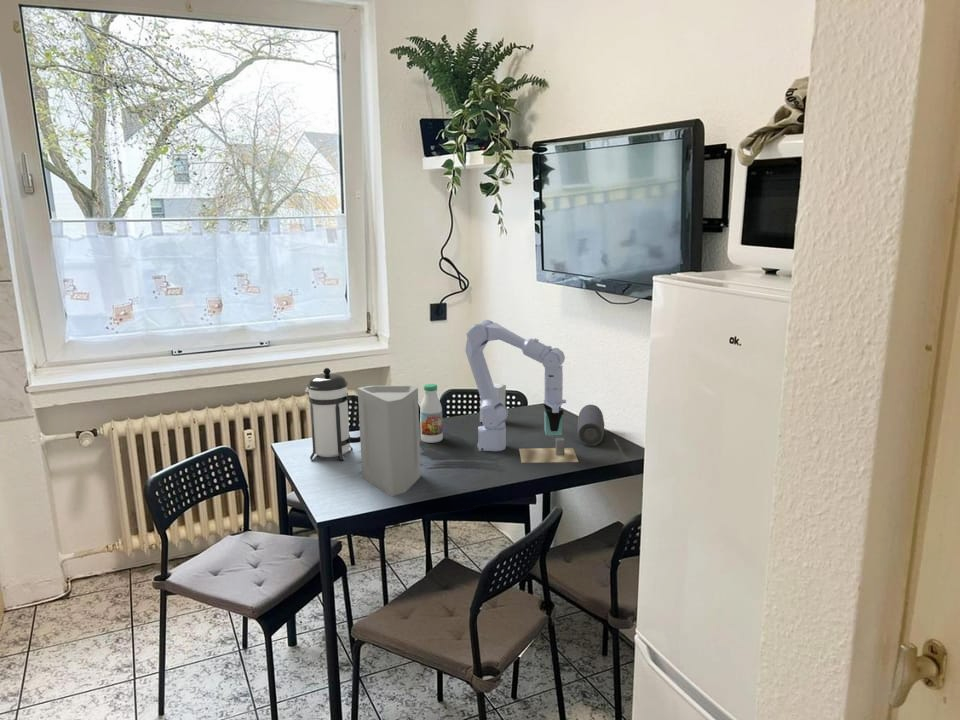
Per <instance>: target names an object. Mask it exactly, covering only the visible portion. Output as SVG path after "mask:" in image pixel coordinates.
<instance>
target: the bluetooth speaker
mask: <svg viewBox="0 0 960 720" xmlns="http://www.w3.org/2000/svg"><path fill="white" fill-rule="evenodd" d="M603 414H604V413H603V412H602V410H601V409H600V408H599V406H597V405H595V404H586V405H584V406H583V407H582V408H581V409H580V412H579V413H578V417H577V425H576V426H577V428H576V429H577V436H578V439H579V441H580V443H582V444H583V445H584V446H592V447H593V446H594V447H595V446H598V445H599V444H600V443H601V442H602V440H603V438H604V434H605V419H604V415H603Z"/></svg>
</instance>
